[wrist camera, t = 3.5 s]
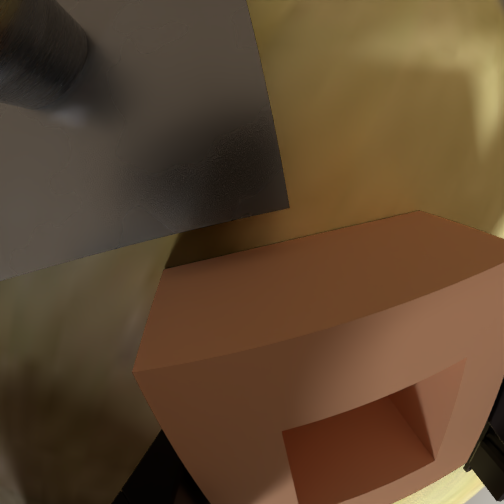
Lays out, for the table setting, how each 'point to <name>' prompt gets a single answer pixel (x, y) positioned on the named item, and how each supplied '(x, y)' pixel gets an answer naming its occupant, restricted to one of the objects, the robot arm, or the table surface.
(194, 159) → the grey base with peg
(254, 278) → the collar
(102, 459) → the table surface
